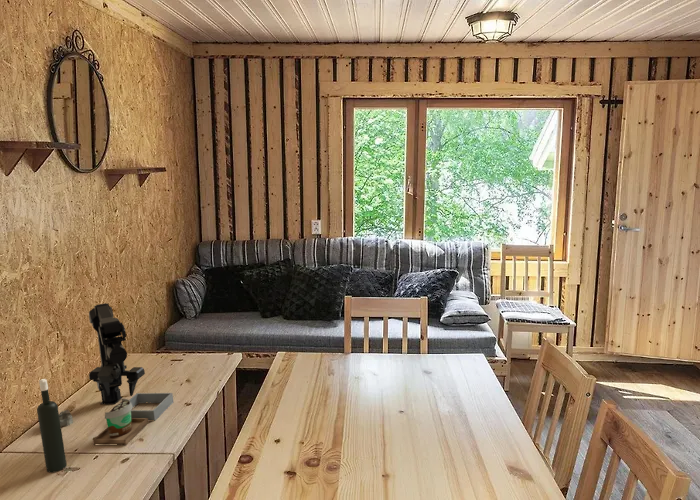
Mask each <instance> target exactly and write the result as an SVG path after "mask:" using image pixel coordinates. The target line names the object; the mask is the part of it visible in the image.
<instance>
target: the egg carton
mask: <svg viewBox="0 0 700 500" xmlns="http://www.w3.org/2000/svg"><path fill="white" fill-rule="evenodd" d="M73 418H74V417H73V416H72V414H71V412H70V410H69V409H65V410H62V411H60V412H59V419H60V425H61V428H62V427H64V426H67V427H68V426H70V425H71V424H73V423H74V421H73V420H74V419H73Z"/></svg>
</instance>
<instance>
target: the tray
mask: <svg viewBox="0 0 700 500" xmlns="http://www.w3.org/2000/svg"><path fill="white" fill-rule="evenodd" d="M131 423H132V430H131V431H130V432H129V433H127V434H126V435H123V436H120V437H115V438H110V435H109V430H108V426H107V427H106V428H104V429H103V430H102V431H101V432H100V433H99V434H98V435H97V436H95V437H94V438H93V439H92V442H93V446H96V445H95V444H117V445H116V446H127V445H128V444H129V443H130V442H131V441H132V440H133V439H134V438H136V436H138V435H139V433H140V432H141V431H143V430H144V429H145V427H146V426H147V425H148V424H149V423H150V421H148V418H131Z"/></svg>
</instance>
